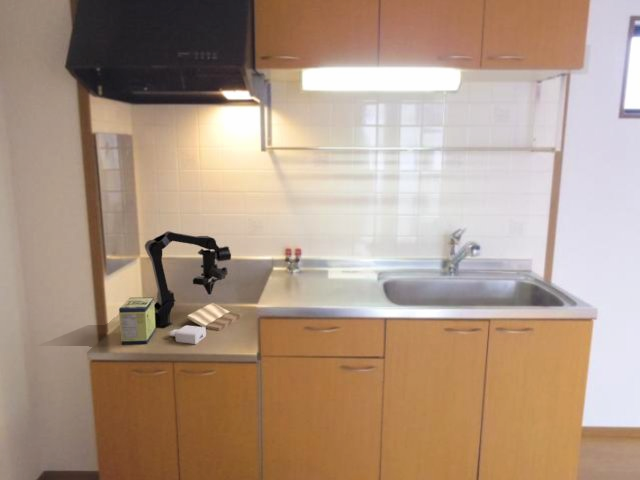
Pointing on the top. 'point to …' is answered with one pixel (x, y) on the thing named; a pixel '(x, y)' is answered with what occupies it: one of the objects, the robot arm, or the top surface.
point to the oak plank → (207, 314)
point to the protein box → (137, 320)
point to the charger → (189, 334)
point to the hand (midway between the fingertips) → (209, 294)
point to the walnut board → (224, 321)
